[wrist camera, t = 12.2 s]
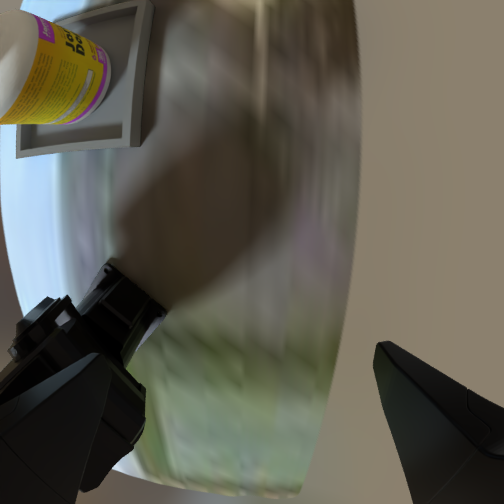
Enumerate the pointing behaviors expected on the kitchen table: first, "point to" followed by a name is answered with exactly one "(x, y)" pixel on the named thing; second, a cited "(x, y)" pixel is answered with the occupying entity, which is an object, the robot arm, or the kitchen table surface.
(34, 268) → the kitchen table surface
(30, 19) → the supplement bottle
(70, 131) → the tray
